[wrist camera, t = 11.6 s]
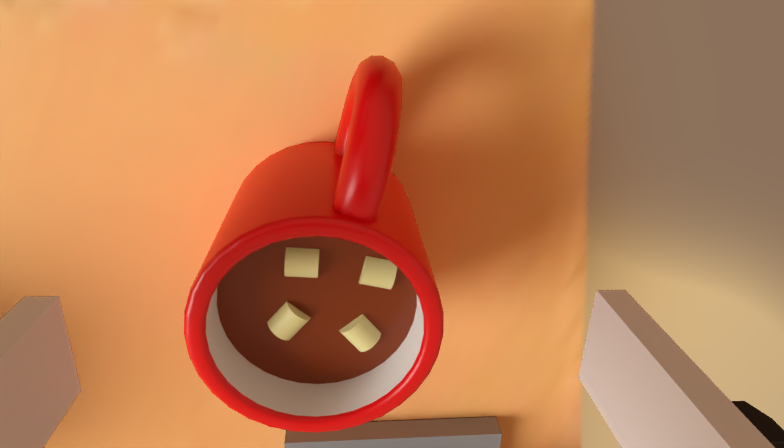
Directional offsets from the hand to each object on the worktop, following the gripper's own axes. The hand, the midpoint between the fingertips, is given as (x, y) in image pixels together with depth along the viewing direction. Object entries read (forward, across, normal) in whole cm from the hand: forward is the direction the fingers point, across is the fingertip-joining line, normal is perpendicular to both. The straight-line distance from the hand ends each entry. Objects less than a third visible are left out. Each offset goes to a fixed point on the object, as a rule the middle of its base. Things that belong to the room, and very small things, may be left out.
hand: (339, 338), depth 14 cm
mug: (+10, 0, 0) cm, 11 cm away
